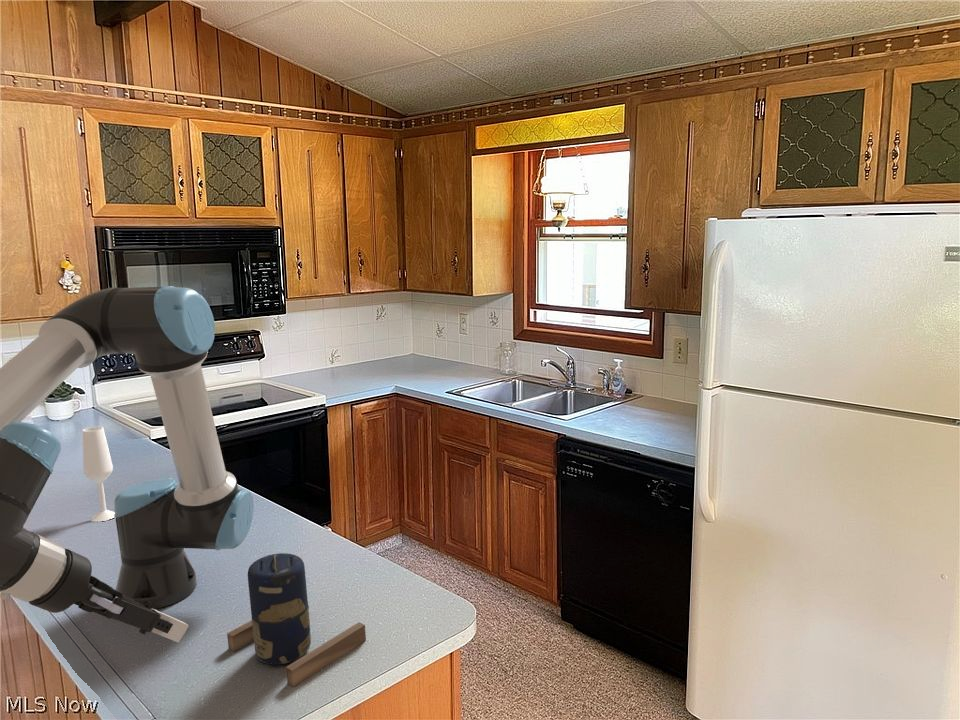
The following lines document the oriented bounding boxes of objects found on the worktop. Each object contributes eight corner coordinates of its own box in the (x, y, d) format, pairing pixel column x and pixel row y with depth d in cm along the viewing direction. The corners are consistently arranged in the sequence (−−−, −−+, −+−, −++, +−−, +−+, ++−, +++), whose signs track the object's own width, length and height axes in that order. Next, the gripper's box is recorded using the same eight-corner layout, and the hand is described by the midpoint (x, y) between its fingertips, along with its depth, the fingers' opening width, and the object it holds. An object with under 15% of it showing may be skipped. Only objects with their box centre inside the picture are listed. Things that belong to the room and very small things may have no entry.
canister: (316, 635, 128) (309, 544, 124) (305, 668, 118) (297, 569, 115) (263, 638, 128) (255, 546, 124) (248, 670, 118) (238, 572, 115)
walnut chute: (228, 648, 125) (227, 633, 124) (301, 608, 137) (299, 594, 136) (293, 687, 114) (292, 670, 113) (365, 640, 126) (364, 625, 125)
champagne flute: (124, 512, 186) (113, 425, 182) (109, 522, 180) (97, 432, 175) (100, 511, 187) (89, 425, 183) (84, 522, 181) (71, 432, 176)
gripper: (6, 587, 93) (144, 642, 109) (47, 618, 85) (189, 672, 101) (44, 535, 96) (173, 596, 112) (87, 561, 88) (219, 622, 104)
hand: (181, 632), depth 106 cm, fingers closed
